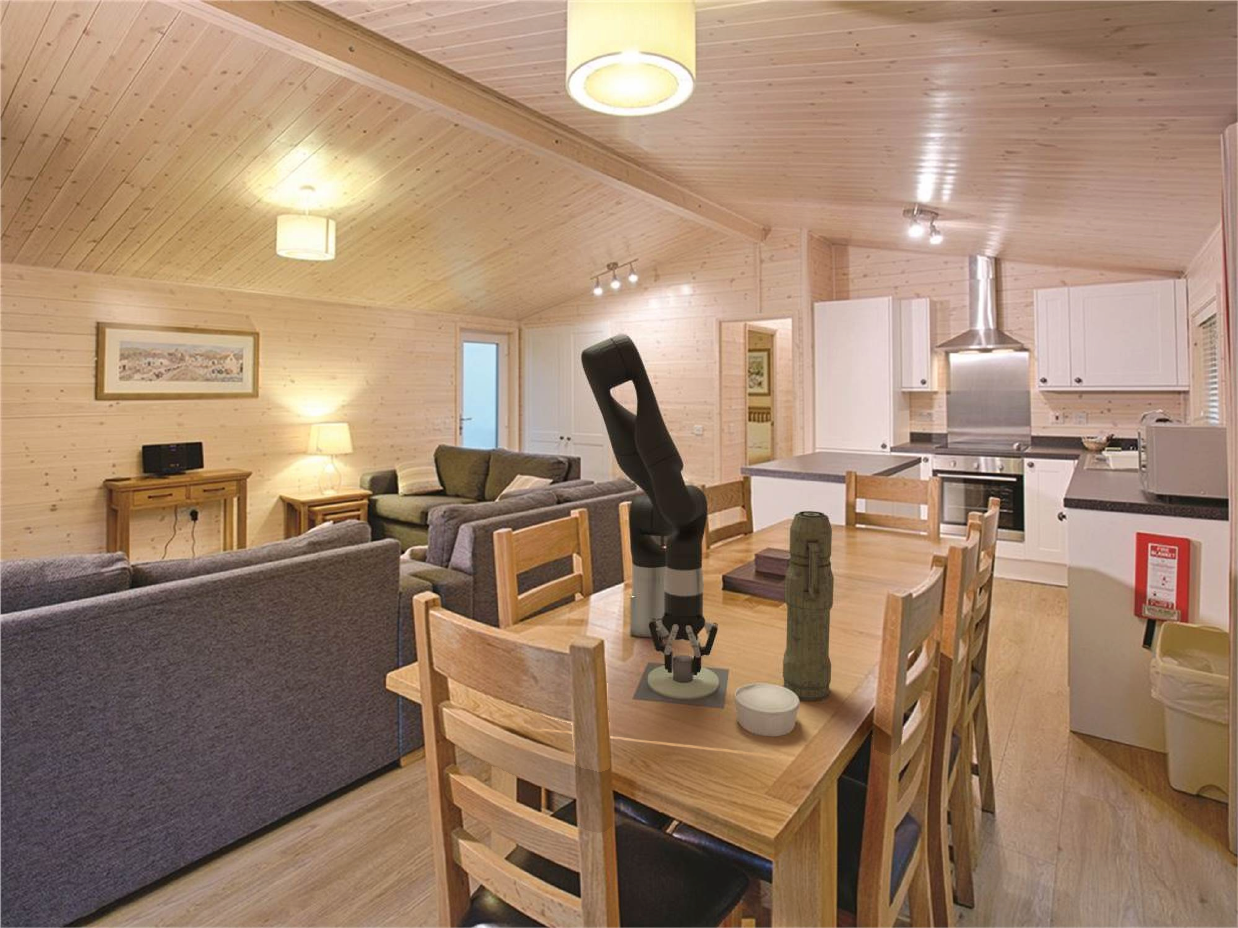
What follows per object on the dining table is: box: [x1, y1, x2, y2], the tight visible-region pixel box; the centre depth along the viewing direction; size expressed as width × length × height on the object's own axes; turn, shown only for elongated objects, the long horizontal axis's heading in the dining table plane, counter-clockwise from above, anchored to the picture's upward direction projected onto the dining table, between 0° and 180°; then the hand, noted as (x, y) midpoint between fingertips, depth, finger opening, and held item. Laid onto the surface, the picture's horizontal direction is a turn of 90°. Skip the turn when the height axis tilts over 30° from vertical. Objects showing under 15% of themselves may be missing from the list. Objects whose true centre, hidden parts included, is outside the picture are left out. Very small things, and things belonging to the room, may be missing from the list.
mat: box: [632, 661, 730, 709], centre depth 129 cm, size 17×17×1 cm
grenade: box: [782, 510, 835, 702], centre depth 124 cm, size 9×12×35 cm
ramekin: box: [733, 682, 800, 737], centre depth 113 cm, size 11×11×5 cm
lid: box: [648, 654, 719, 700], centre depth 128 cm, size 14×14×5 cm
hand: (683, 671), depth 128 cm, fingers open, 4 cm apart
